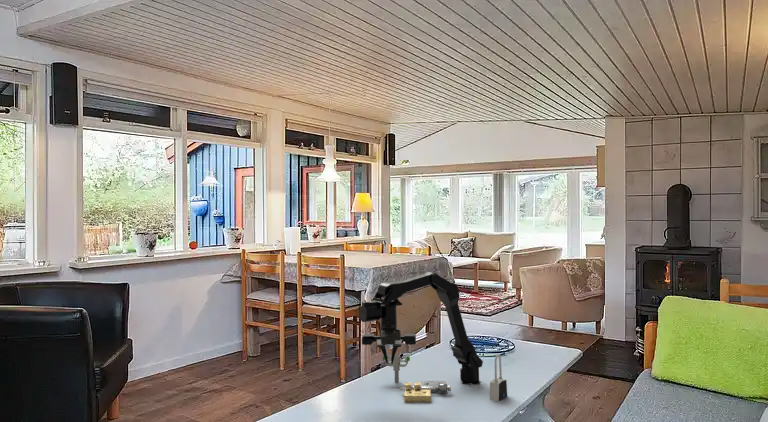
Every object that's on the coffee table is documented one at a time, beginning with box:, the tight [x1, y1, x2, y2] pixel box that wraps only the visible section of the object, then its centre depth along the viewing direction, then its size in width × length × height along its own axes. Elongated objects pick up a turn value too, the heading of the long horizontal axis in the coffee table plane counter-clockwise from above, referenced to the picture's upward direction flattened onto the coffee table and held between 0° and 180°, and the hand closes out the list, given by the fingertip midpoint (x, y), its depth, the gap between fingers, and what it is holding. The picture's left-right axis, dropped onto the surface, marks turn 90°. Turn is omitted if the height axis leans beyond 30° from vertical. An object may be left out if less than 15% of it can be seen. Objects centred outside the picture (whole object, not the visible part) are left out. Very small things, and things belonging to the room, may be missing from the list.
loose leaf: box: [403, 381, 432, 403], centre depth 203 cm, size 9×10×4 cm
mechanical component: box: [382, 354, 411, 384], centre depth 221 cm, size 3×10×10 cm, turn 79°
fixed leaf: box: [400, 380, 452, 394], centre depth 210 cm, size 18×10×4 cm, turn 87°
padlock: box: [489, 354, 508, 402], centre depth 200 cm, size 7×4×15 cm, turn 141°
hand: (389, 363), depth 202 cm, fingers closed
